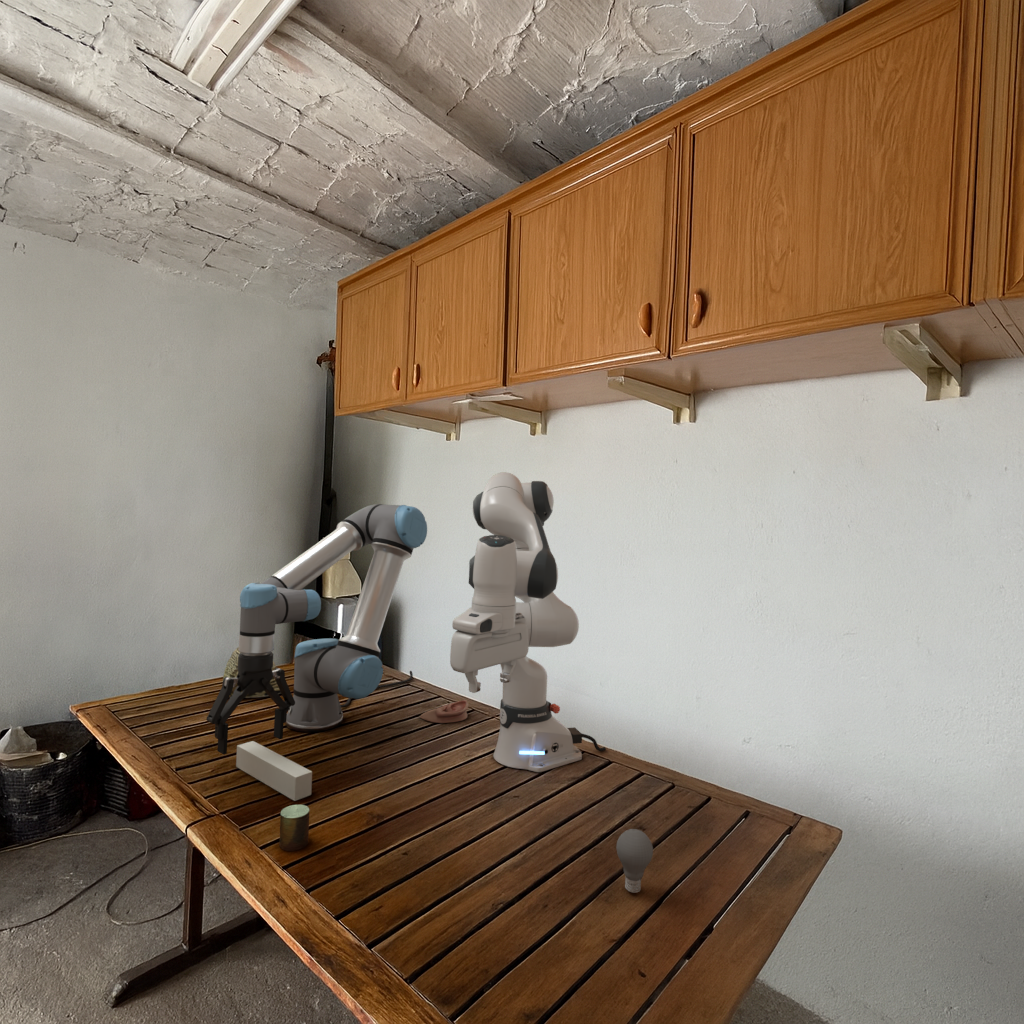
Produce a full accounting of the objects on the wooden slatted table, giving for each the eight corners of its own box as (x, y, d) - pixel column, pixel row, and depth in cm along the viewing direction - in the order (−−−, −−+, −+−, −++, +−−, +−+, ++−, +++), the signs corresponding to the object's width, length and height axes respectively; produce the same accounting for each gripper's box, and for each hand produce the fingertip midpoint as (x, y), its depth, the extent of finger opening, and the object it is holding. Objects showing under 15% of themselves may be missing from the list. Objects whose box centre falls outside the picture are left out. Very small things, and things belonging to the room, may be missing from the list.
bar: (252, 761, 149) (253, 740, 149) (311, 794, 134) (312, 771, 134) (235, 766, 146) (236, 745, 146) (294, 801, 131) (295, 777, 131)
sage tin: (298, 833, 119) (299, 801, 119) (313, 843, 116) (315, 810, 116) (273, 843, 115) (275, 811, 115) (289, 854, 112) (290, 820, 112)
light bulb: (610, 879, 108) (613, 822, 108) (644, 879, 109) (647, 822, 109) (619, 902, 102) (622, 840, 102) (655, 901, 103) (658, 840, 103)
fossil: (218, 695, 195) (220, 647, 195) (278, 685, 208) (279, 640, 207) (228, 703, 189) (230, 653, 188) (289, 692, 201) (290, 645, 201)
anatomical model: (416, 706, 181) (429, 695, 192) (416, 720, 181) (429, 708, 192) (461, 711, 178) (471, 699, 190) (460, 725, 178) (471, 712, 190)
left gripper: (295, 642, 157) (290, 727, 157) (193, 657, 138) (187, 754, 138) (312, 647, 153) (308, 735, 153) (209, 663, 133) (204, 764, 133)
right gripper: (513, 609, 136) (510, 673, 136) (446, 621, 120) (443, 693, 120) (537, 613, 132) (534, 679, 132) (470, 626, 116) (467, 701, 116)
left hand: (251, 744), depth 145 cm, fingers open, 13 cm apart
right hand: (490, 686), depth 126 cm, fingers open, 8 cm apart
